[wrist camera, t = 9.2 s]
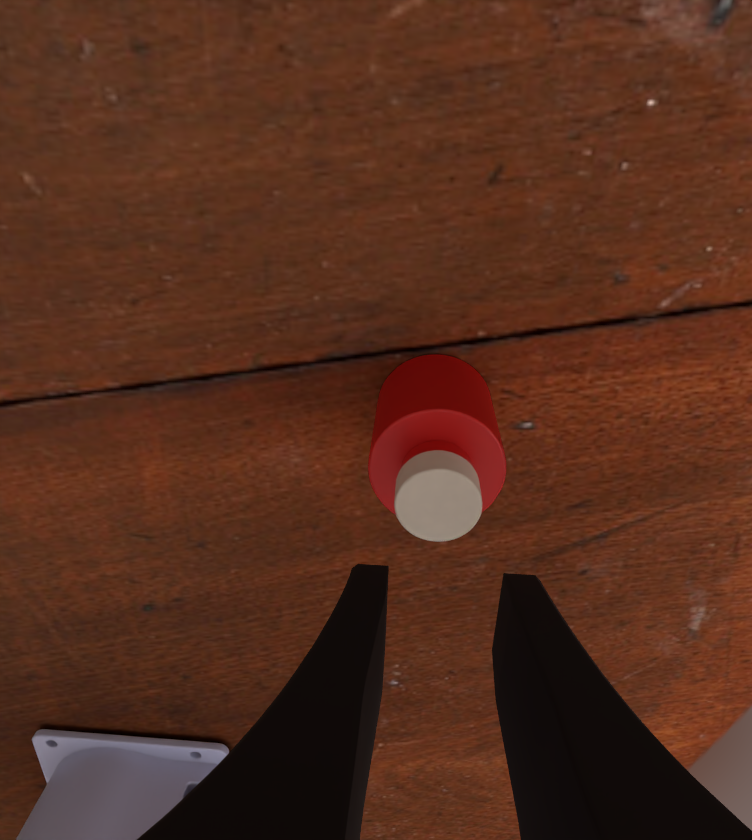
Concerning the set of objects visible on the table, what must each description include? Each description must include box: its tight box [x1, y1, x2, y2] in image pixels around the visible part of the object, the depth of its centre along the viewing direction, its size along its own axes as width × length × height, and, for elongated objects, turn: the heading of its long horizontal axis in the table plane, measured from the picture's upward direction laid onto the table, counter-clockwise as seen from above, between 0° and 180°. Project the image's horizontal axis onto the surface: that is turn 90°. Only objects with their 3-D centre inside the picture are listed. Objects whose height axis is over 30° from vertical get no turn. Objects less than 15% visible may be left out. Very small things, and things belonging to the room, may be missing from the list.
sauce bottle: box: [368, 354, 506, 541], centre depth 18 cm, size 4×4×6 cm
